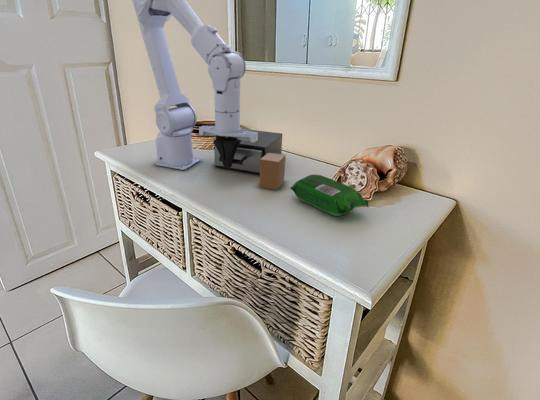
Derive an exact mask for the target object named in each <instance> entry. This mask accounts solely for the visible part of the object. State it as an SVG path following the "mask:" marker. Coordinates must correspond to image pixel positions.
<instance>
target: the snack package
mask: <svg viewBox="0 0 540 400" xmlns="http://www.w3.org/2000/svg"><path fill="white" fill-rule="evenodd" d="M290 191H292V192H293V193H294V194H295V196H296V198H298V200H300V201H301V202H302V203H306V204H308V205H310V206H312V207H314V208H316V209H318V210H320V211H322V212H325V213H327V214H329V215H331V216H334V217H340V216H342V215H344V214H349V213H351V212H352V211H353V210H354V209H357V208H362V207H365V206H366V207H367V208H369V206H370V205H369V200H366V199H365V198H364V197H363V196H362V195H361V193H360V192H359V191H357V190H356V189H355V188H354V187H352V186H349V185H347V184H344V183H342V182H339V181H336V180H335V179H332V178H329V177H327V176H324V175H322V174H315V173H314V174H309V175H307V176H305V177H302V178H301V179H298V180H297V181H296V182H295V183H293V185H292V186H291V187H290Z"/></svg>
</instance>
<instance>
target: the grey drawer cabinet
mask: <svg viewBox="0 0 540 400" xmlns="http://www.w3.org/2000/svg"><path fill="white" fill-rule="evenodd" d="M243 129H244V130H248V131H252V132H258V140H257V141H256V142H254V143H253V142H250V141H246V140H241V142H240V144H239V146H242V147H249V148H256V149H263V157H264V156H265V155H266V154H267V153H273V154H280V155H282V149H283V147H282V146H283V133H280V132H272V131H264V130H255V129H247V128H243ZM214 166H215V167H216V168H223V169H225V168H224V167H222V166H217V165H215V164H214ZM227 169H228V170H234V171H240V172H245V173H251V174H257V175H260V173H257V172H252V171H246V170H240V169H234V168H227Z"/></svg>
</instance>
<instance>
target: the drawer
mask: <svg viewBox="0 0 540 400" xmlns="http://www.w3.org/2000/svg"><path fill="white" fill-rule="evenodd" d="M213 149H214V152H213V153H214V166H215V165H217V166H222V167H223V163H222V160H221V156H220V154H219V152H218V150H217V148H216V146H215V145H214V144H213ZM262 157H263V149H256V148H249V147H242V146H238V148H237V150H236V152H235V155H234V159H233V161H232V166H231V167H230V168H234V169H240V170H246V171H252V172H257V173H260V159H261V158H262ZM222 167H221V168H222Z"/></svg>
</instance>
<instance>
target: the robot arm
mask: <svg viewBox="0 0 540 400" xmlns="http://www.w3.org/2000/svg"><path fill="white" fill-rule="evenodd" d="M131 1H132V5H133V7H134V11H135V14H136V19H137V21H138V25H139V29H140V33H141V37H142V40H143V43H144V47H145V50H146V53H147V57H148V60H149V64H150V67H151V71H152V74H153V77H154V80H155V84H156V88H157V91H158V94H159V99H158V100H157V102H156V104H155V105H154V106H153V109H154V113H155V124H156V127H157V129H158V130H159V132H158V133H157V135H156V137H155V149H156V157H157V162H156V163H155V164H156V166H160V167H166V168H170V169H174V170H175V169H176V170H182V171H186V170H187V169H189V168H191V167H192V166H194V165H196V164H197V163H198V162H200V159H199V158H194V153H193V152H194V151H193V140H192V139H193V138H192V137H193V136H192V132H193V131H194V127H195V125H196V124H197V120H198V118H197V117H198V116H197V113H196V110H195V109H194V107H193V105H192V103H191V99H190V98H189V97H188V96H187V95H185V94H184V93H182V92H181V88H180V85H179V81H178V76H177V73H176V69H175V66H174V63H173V59H172V56H171V51H170V49H169V45H168V40H167V37H166V34H165V30H164V27H165V24H166V23H167V22H168V21H169V20H170V18H171V17H172V16H173V18H174V19H175V20H176V21H177V22H178V23H179V24H180V25H181V26H182V27H183V29H185V31H186V32H187V33H188V34H189V35H190V36H191V38H190V43H191V46H192V47H193V48H194V50H195V51H196V52H197V53H198V55H199V56H200V57H201V58H202V59H203V61H204V63H206V65H207V66H208V67H207V73H208V76H209V78H210V79H211V81H212V82H211V83H212V88H213V90H214V125H201V126H198V134H199V136H209V137H210V136H211V137H215V139H213V146H214V145H215V146H216V148H217V150H218V152H219V154H220V156H221V160H222V163H223V167H224V168H223V169H228V168H230V167H231V166H232V161H233V159H234V155H235V152H236V150H237V148H238V146H239V144H240V142H241V140H246V141H250V142H253V143H254V142H256V141H257V140H258V132H252V131H248V130H249V129H248V130H244V129H245V128H241V79H242V78H243V77H244V76H245V73H246V68H247V65H246V61H245V59H244V57H243V55H242V54H241V53H240V52H238V51H233V50H232V49H231V46H230V45H229V44H227V43H226V42H225V41H224V40H223V39H222V38H221V36H220V35H219V34H218V29H217V28H216V26H212V25H210V24H204V23H203V22H202V20H200V18H199V17H198V15H197V13H196V12H195V11H194V9H193V8H192V7H191V5H190V4H189V2H188V0H131ZM170 107H171V108H170Z"/></svg>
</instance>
